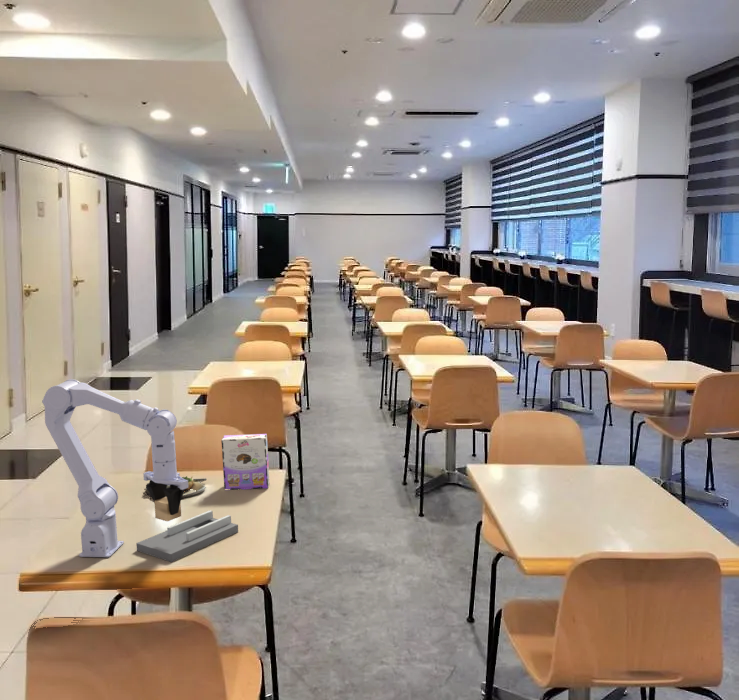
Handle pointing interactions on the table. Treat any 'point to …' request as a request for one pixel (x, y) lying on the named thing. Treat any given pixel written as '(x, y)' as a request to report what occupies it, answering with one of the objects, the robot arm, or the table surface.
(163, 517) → the block
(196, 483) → the salad plate
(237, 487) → the cake mix box
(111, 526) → the robot arm
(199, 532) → the rail jig base
